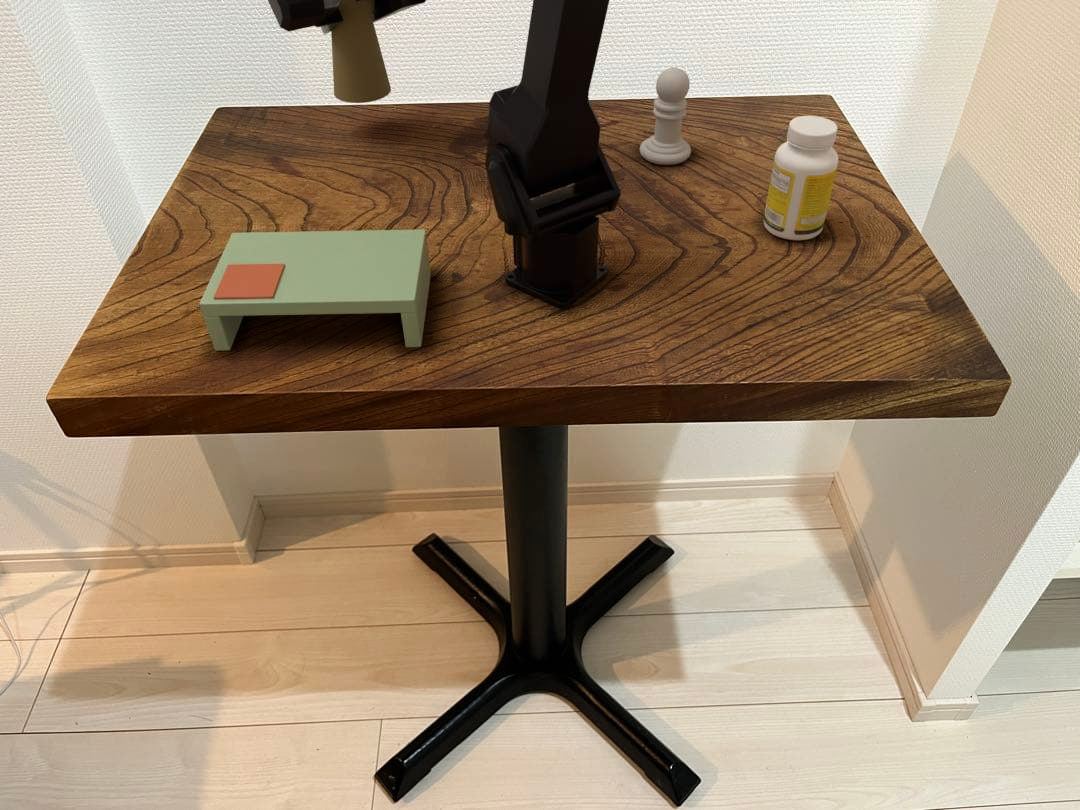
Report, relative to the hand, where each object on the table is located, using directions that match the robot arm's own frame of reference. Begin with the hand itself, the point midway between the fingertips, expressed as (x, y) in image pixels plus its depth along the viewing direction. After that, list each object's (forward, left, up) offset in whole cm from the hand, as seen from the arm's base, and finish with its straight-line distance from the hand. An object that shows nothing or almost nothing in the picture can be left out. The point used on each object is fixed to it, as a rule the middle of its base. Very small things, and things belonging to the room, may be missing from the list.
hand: (347, 23), depth 88 cm
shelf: (-23, +25, -11) cm, 36 cm away
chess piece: (-30, -15, -11) cm, 35 cm away
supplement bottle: (-47, -10, -11) cm, 49 cm away
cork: (-1, 0, -7) cm, 7 cm away
